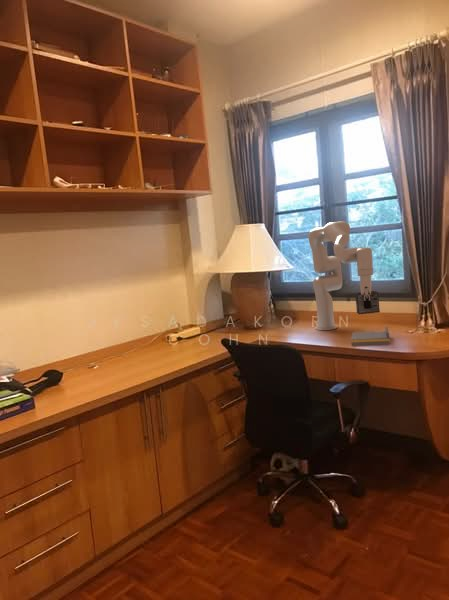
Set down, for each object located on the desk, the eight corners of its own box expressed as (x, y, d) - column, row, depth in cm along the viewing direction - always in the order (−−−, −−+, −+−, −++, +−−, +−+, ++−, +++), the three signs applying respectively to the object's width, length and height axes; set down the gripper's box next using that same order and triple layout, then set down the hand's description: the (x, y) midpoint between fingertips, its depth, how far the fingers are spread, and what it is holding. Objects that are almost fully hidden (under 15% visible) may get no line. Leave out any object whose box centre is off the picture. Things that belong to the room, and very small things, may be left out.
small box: (377, 310, 247) (376, 290, 245) (380, 312, 240) (378, 291, 239) (356, 312, 248) (354, 292, 247) (358, 314, 242) (357, 293, 240)
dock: (352, 338, 256) (351, 328, 255) (388, 336, 251) (387, 326, 250) (351, 345, 241) (351, 335, 240) (389, 344, 235) (389, 333, 235)
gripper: (357, 271, 251) (360, 304, 253) (357, 274, 234) (359, 310, 237) (373, 270, 249) (375, 304, 251) (373, 273, 232) (375, 309, 234)
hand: (367, 307), depth 244 cm, fingers closed on small box, 7 cm apart
